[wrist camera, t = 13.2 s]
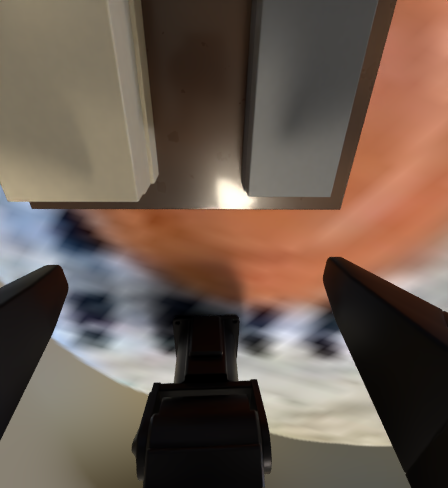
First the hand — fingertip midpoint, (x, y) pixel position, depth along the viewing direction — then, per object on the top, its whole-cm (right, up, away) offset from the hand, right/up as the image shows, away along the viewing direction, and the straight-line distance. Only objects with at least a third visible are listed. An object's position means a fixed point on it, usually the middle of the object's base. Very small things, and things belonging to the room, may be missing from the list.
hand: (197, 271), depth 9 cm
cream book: (-6, +8, +3) cm, 11 cm away
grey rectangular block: (+5, +10, +6) cm, 13 cm away
